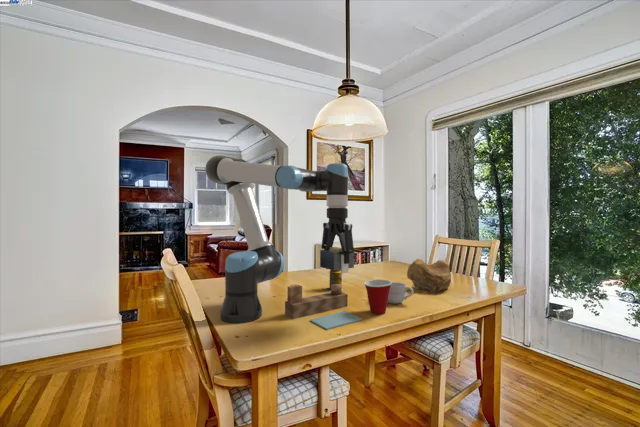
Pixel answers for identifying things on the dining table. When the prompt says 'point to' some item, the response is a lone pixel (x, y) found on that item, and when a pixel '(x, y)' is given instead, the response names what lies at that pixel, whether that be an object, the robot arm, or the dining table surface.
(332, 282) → the condiment
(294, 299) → the plane body
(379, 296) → the plastic cup
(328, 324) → the rubber mat
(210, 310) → the dining table surface
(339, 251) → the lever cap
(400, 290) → the teacup
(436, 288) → the rough brown rock
